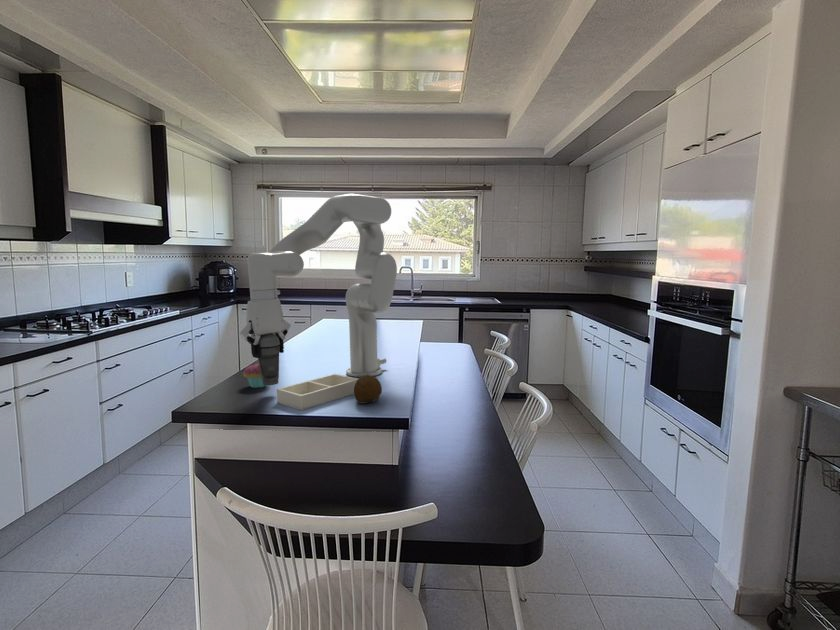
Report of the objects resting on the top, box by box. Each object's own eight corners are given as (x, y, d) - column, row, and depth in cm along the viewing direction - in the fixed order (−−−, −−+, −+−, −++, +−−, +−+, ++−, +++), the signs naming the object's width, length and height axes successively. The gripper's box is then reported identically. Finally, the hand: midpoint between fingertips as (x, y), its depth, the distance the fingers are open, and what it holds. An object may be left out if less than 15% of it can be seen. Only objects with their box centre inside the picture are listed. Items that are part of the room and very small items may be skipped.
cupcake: (277, 383, 154) (275, 347, 153) (258, 390, 147) (256, 352, 145) (257, 381, 158) (255, 345, 156) (237, 387, 150) (235, 350, 149)
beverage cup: (275, 387, 138) (270, 319, 135) (253, 386, 139) (247, 319, 136) (287, 380, 145) (282, 315, 142) (265, 379, 146) (260, 315, 143)
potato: (376, 394, 141) (376, 369, 140) (387, 406, 130) (387, 379, 129) (349, 397, 139) (348, 371, 138) (358, 410, 127) (357, 382, 126)
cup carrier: (335, 385, 151) (334, 373, 151) (359, 391, 144) (359, 379, 144) (277, 402, 134) (276, 389, 134) (301, 410, 127) (301, 396, 127)
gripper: (281, 292, 147) (285, 348, 150) (229, 297, 134) (234, 359, 136) (296, 293, 142) (300, 350, 145) (243, 299, 129) (248, 362, 132)
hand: (268, 354), depth 141 cm, fingers closed on beverage cup, 7 cm apart
